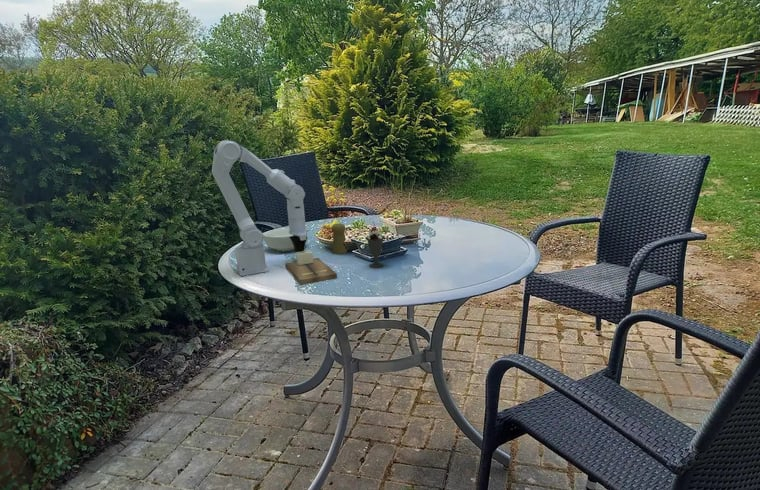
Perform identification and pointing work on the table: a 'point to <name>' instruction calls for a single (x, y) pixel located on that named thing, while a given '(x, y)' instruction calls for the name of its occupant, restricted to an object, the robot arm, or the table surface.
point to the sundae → (375, 246)
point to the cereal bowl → (279, 239)
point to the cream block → (304, 257)
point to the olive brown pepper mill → (338, 239)
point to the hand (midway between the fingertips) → (299, 255)
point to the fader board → (311, 271)
